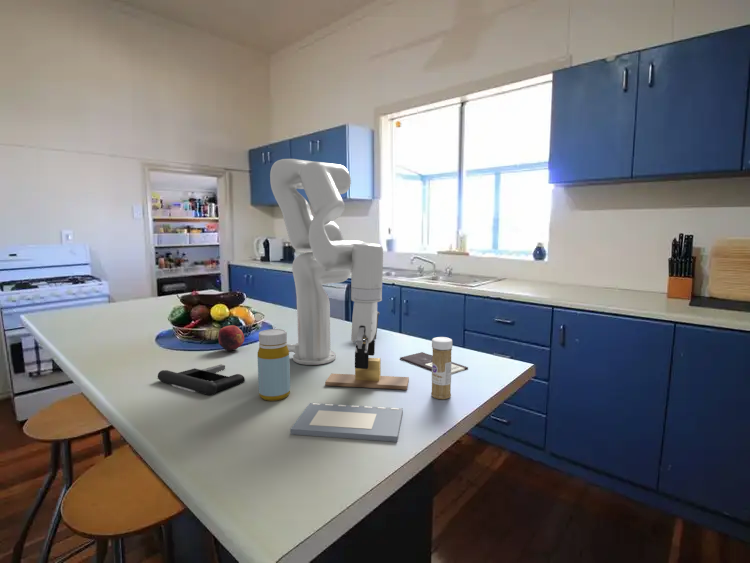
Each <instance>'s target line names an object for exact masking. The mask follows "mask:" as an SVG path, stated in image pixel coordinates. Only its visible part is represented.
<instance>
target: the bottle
mask: <svg viewBox="0 0 750 563" xmlns="http://www.w3.org/2000/svg"><path fill="white" fill-rule="evenodd" d="M287 332H288V331H287V330H286V329H281V328H271V329H264V330H261V331H259V332H258V342H259V343H258V346H259V348H258V351H257V376H258V381H257V382H258V396H259V397H260V398H261V399H262V400H264V401H267V402H268V401H269V402H274V401H275V402H276V401H281V400H284V399H285V398H287V397H288V396H289V395H290V394H291V373H290V372H291V371H290V370H291V369H290V368H291V367H290V366H291V365H290V352H289V350H288V347H287V344H288V342H287V341H288V333H287Z"/></svg>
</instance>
